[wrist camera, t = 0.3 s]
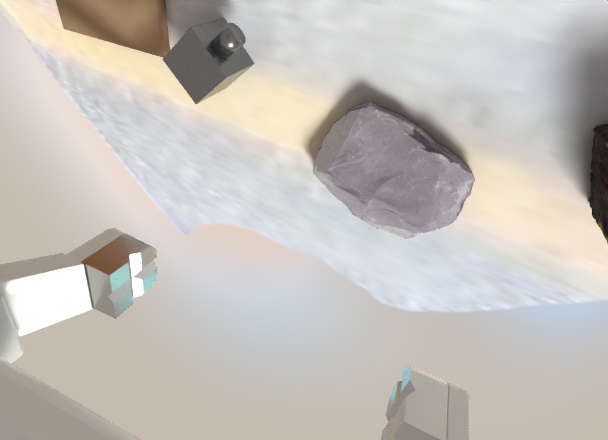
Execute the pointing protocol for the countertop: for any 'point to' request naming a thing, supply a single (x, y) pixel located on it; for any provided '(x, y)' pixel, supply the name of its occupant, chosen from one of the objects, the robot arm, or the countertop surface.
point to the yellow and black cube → (600, 178)
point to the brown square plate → (119, 22)
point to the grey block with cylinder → (209, 58)
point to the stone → (392, 172)
